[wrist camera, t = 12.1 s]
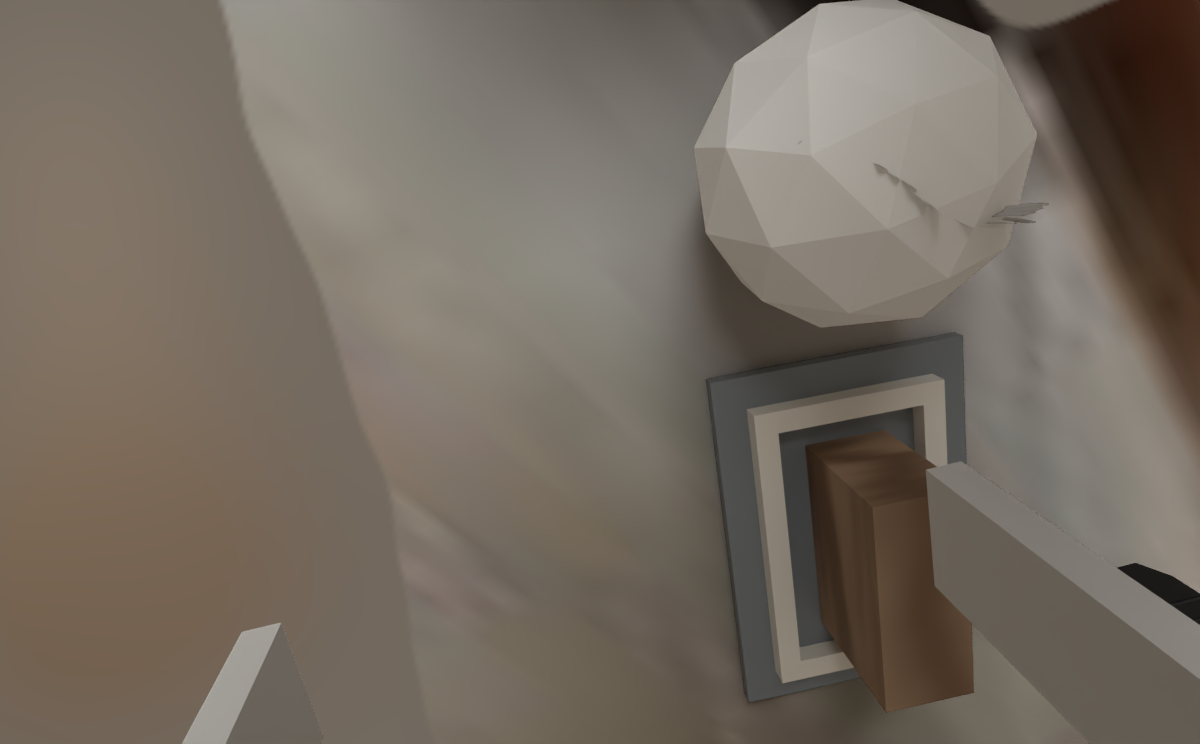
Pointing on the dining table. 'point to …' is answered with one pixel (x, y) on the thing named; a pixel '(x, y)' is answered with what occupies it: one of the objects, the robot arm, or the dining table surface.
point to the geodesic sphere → (864, 163)
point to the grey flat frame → (781, 490)
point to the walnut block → (884, 571)
